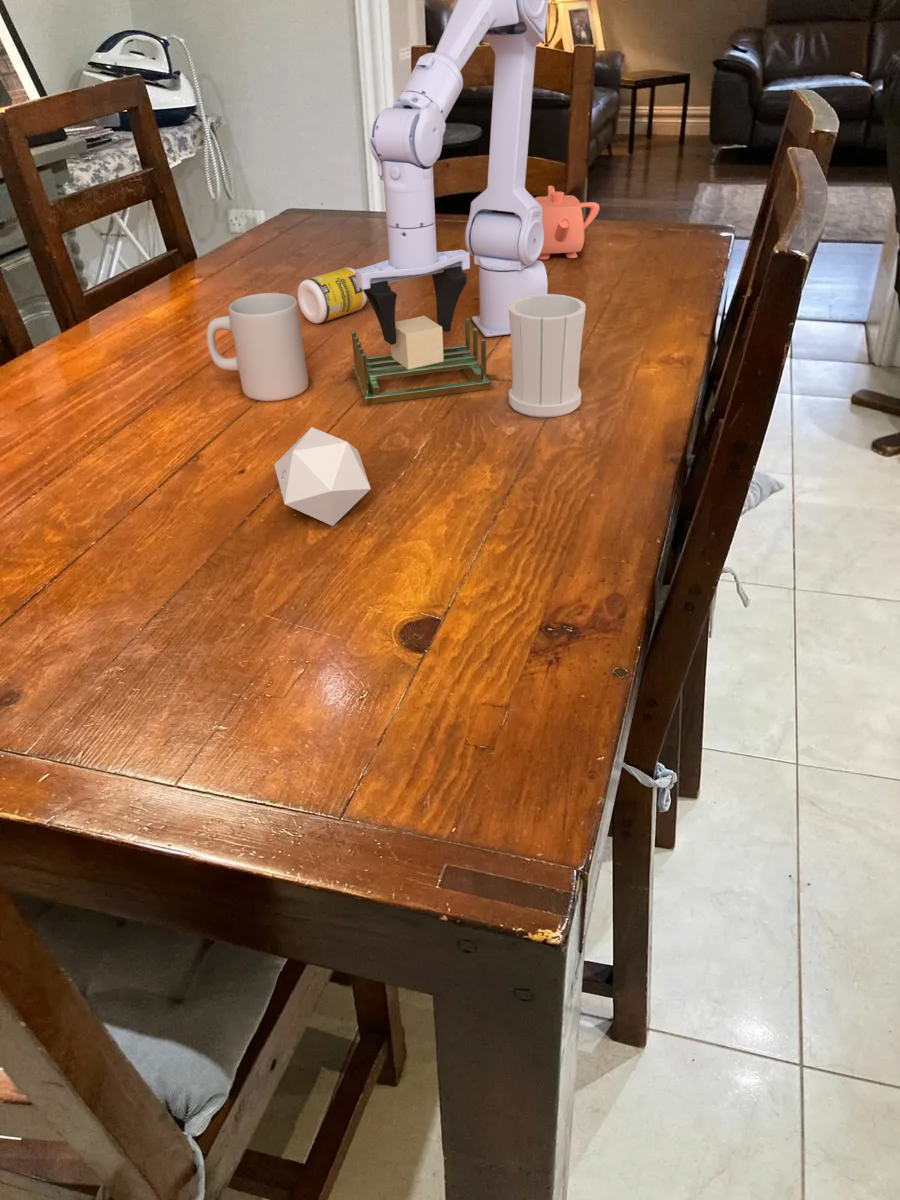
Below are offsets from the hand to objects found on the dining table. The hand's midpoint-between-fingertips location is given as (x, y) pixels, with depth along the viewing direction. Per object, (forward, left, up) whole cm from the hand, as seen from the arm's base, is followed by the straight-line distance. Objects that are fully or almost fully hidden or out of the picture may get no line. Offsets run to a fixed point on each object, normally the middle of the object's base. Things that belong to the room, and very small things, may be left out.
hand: (417, 335), depth 117 cm
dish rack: (0, 0, -6) cm, 6 cm away
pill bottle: (+11, -26, -3) cm, 29 cm away
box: (0, 0, -3) cm, 3 cm away
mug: (+20, -4, -6) cm, 21 cm away
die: (+16, +30, -6) cm, 35 cm away
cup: (-13, +11, -6) cm, 18 cm away
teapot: (-35, -49, -6) cm, 61 cm away
